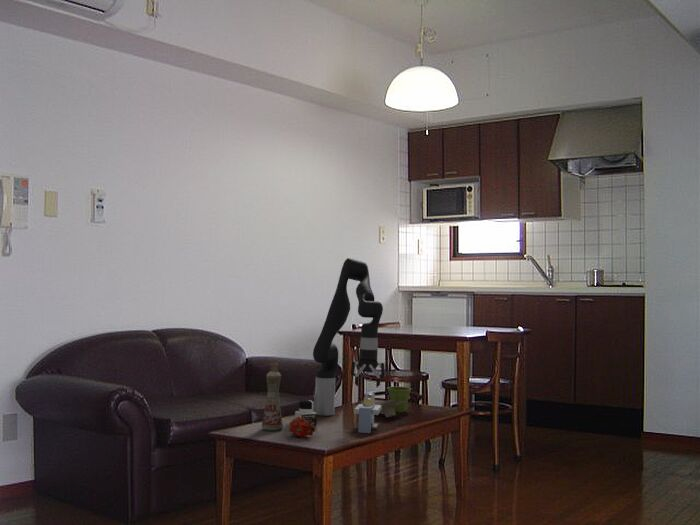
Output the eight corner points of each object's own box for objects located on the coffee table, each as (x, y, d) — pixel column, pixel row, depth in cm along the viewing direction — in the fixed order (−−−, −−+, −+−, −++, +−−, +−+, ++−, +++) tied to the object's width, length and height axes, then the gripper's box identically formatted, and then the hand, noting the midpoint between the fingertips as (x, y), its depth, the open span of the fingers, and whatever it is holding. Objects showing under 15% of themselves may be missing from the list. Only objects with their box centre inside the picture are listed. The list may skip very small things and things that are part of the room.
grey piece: (353, 430, 339) (354, 396, 339) (358, 424, 353) (359, 392, 353) (377, 431, 337) (378, 398, 337) (381, 425, 351) (382, 393, 352)
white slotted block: (370, 428, 368) (393, 408, 363) (360, 412, 372) (384, 392, 367) (388, 428, 381) (411, 410, 377) (379, 413, 385) (401, 394, 381)
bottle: (286, 428, 338) (288, 361, 338) (276, 432, 330) (278, 363, 330) (268, 426, 341) (270, 360, 342) (257, 430, 333) (259, 362, 334)
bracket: (358, 432, 334) (359, 407, 334) (362, 427, 346) (362, 403, 346) (370, 433, 333) (371, 408, 334) (373, 428, 345) (374, 404, 346)
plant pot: (381, 411, 391) (382, 387, 391) (396, 408, 400) (396, 385, 400) (401, 414, 384) (401, 390, 384) (415, 411, 393) (416, 388, 393)
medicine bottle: (301, 431, 334) (302, 402, 334) (294, 428, 340) (295, 399, 340) (316, 430, 337) (317, 401, 337) (309, 427, 343) (310, 398, 344)
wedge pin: (365, 428, 343) (365, 398, 343) (371, 429, 343) (371, 398, 343) (364, 429, 341) (364, 398, 341) (370, 430, 340) (371, 399, 340)
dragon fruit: (288, 438, 326) (312, 446, 319) (280, 428, 320) (304, 437, 313) (298, 420, 329) (322, 428, 323) (290, 410, 323) (314, 418, 317)
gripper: (386, 348, 345) (385, 386, 345) (353, 346, 347) (352, 384, 347) (384, 349, 337) (383, 388, 337) (350, 348, 340) (349, 386, 339)
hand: (367, 386), depth 342 cm, fingers open, 8 cm apart
